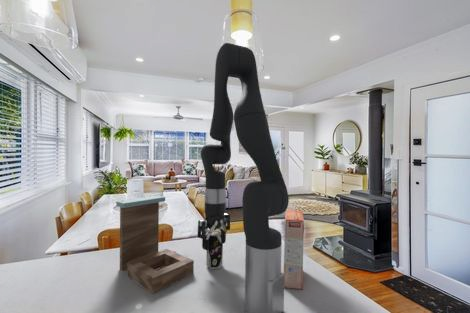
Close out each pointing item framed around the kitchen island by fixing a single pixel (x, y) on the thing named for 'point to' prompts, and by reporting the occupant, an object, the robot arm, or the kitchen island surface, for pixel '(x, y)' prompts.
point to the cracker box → (293, 249)
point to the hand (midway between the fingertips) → (214, 245)
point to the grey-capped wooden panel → (138, 228)
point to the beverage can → (215, 250)
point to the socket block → (158, 280)
